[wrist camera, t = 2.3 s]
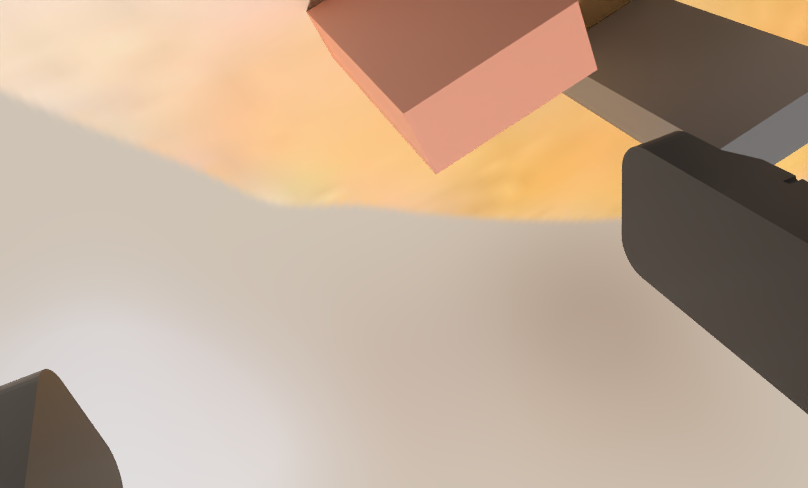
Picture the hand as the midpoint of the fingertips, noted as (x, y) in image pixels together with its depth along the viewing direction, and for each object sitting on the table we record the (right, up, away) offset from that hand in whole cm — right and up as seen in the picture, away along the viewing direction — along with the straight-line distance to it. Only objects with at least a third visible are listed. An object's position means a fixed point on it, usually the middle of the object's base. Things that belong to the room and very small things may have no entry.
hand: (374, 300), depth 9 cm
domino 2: (+9, +9, +20) cm, 24 cm away
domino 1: (-1, +10, +15) cm, 18 cm away
